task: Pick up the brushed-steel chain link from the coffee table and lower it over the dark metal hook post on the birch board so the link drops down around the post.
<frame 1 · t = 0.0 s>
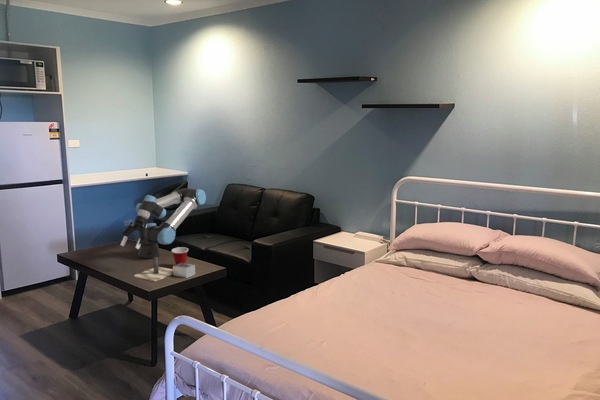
hand: (129, 247, 305), 15 cm above the table, tool tilted 35°, fingers open, 13 cm apart
keeper board: (156, 274, 299), on the table
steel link: (184, 274, 298), on the table
plastic cup: (180, 267, 314), on the table
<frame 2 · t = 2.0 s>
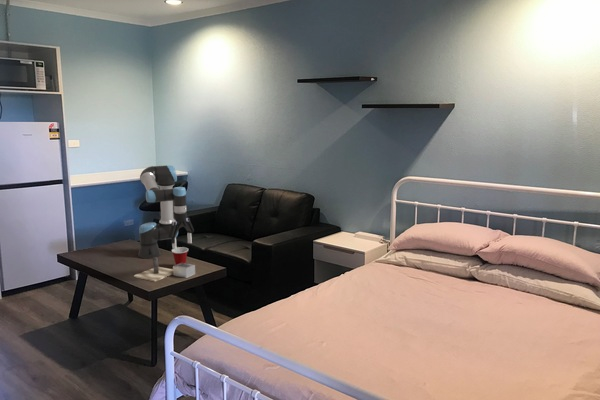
hand: (182, 245, 295), 19 cm above the table, tool pointing down, fingers open, 13 cm apart
nothing on the table moved.
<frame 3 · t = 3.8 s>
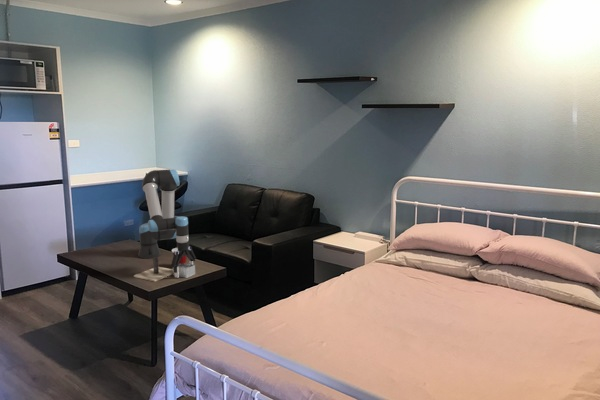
hand: (184, 274, 298), 0 cm above the table, tool pointing down, fingers open, 13 cm apart
nothing on the table moved.
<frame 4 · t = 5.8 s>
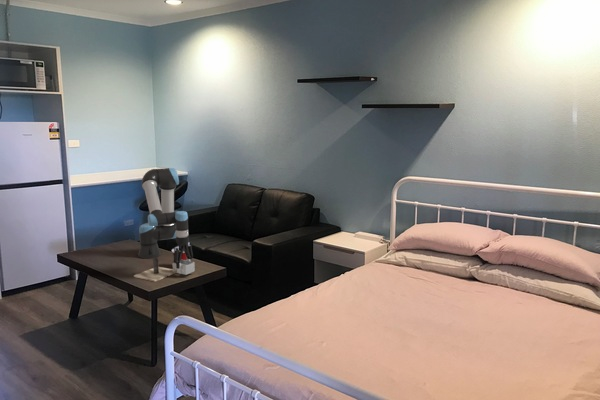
hand: (184, 271, 298), 2 cm above the table, tool pointing down, fingers closed on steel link, 8 cm apart
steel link: (183, 271, 298), point 2 cm above the table, touching gripper
everything else where it was.
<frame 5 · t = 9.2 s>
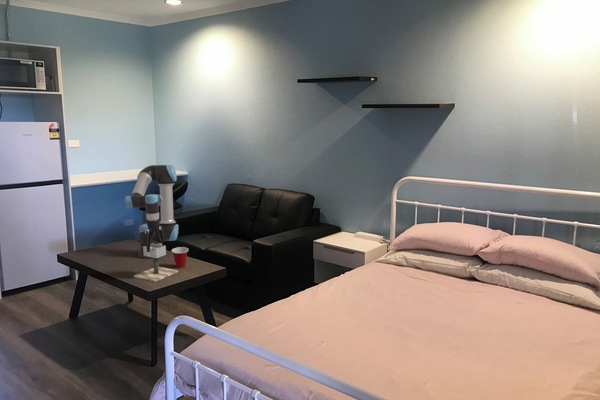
hand: (155, 254, 296), 13 cm above the table, tool pointing down, fingers closed on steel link, 8 cm apart
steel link: (154, 255, 296), point 13 cm above the table, touching gripper
everything else where it was.
when the fingers open (3 cm above the table, at t = 12.7 s): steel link drops 1 cm, resting on keeper board.
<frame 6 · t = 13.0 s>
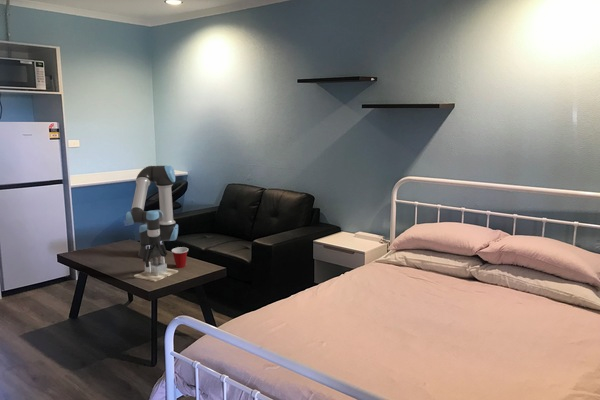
hand: (156, 269, 298), 4 cm above the table, tool pointing down, fingers open, 11 cm apart
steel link: (156, 272, 299), point 1 cm above the table, touching keeper board
everything else where it was.
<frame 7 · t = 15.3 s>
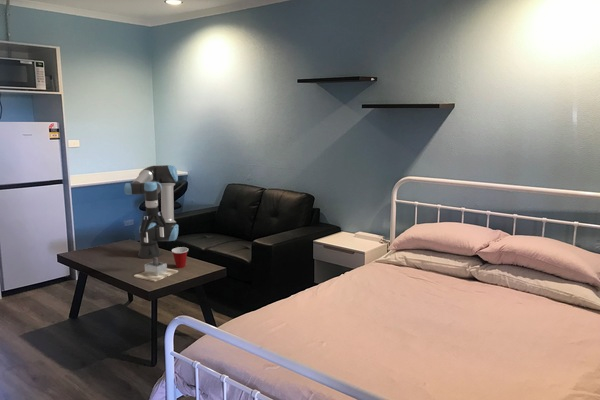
hand: (154, 239, 298), 22 cm above the table, tool pointing down, fingers open, 13 cm apart
nothing on the table moved.
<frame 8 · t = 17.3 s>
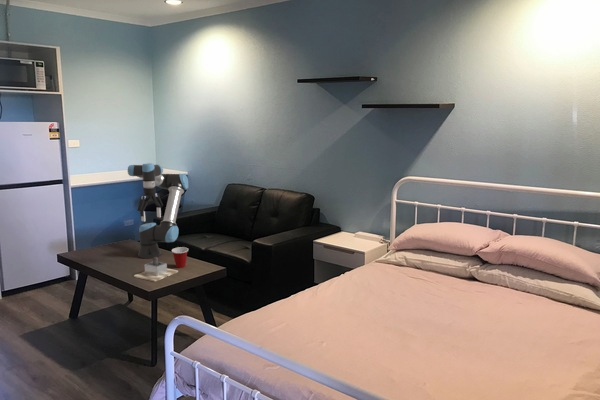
hand: (151, 219, 311), 32 cm above the table, tool pointing down, fingers open, 13 cm apart
nothing on the table moved.
at the end: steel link 0.2 cm from the keeper board (horizontally); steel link point 1.0 cm above the table; the gripper is holding nothing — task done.
